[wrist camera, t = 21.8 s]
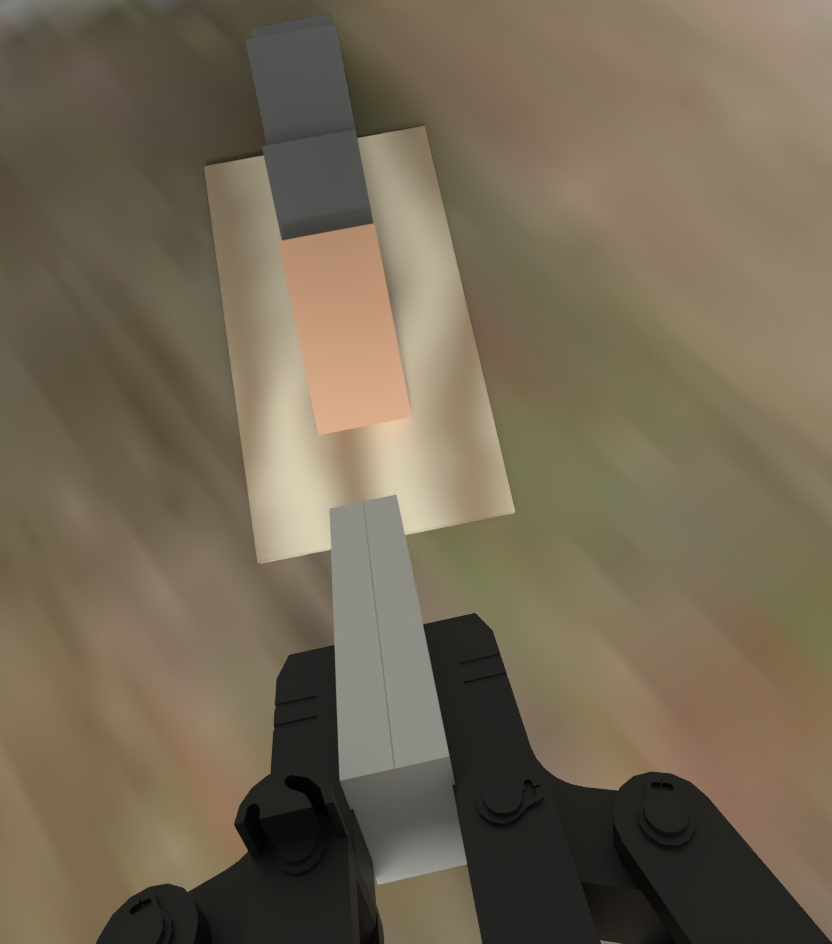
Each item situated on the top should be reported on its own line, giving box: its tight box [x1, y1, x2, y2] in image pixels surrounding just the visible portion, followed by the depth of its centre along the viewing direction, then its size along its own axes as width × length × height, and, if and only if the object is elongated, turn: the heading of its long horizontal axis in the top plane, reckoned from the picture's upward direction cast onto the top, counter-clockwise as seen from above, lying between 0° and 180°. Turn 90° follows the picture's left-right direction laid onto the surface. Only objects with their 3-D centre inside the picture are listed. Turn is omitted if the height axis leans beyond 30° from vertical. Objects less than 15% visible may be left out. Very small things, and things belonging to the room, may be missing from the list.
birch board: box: [204, 126, 515, 564], centre depth 38 cm, size 14×25×1 cm, turn 11°
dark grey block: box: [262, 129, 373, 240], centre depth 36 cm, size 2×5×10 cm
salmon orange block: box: [278, 223, 412, 435], centre depth 35 cm, size 2×5×10 cm
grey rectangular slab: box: [245, 24, 356, 145], centre depth 37 cm, size 2×5×10 cm
